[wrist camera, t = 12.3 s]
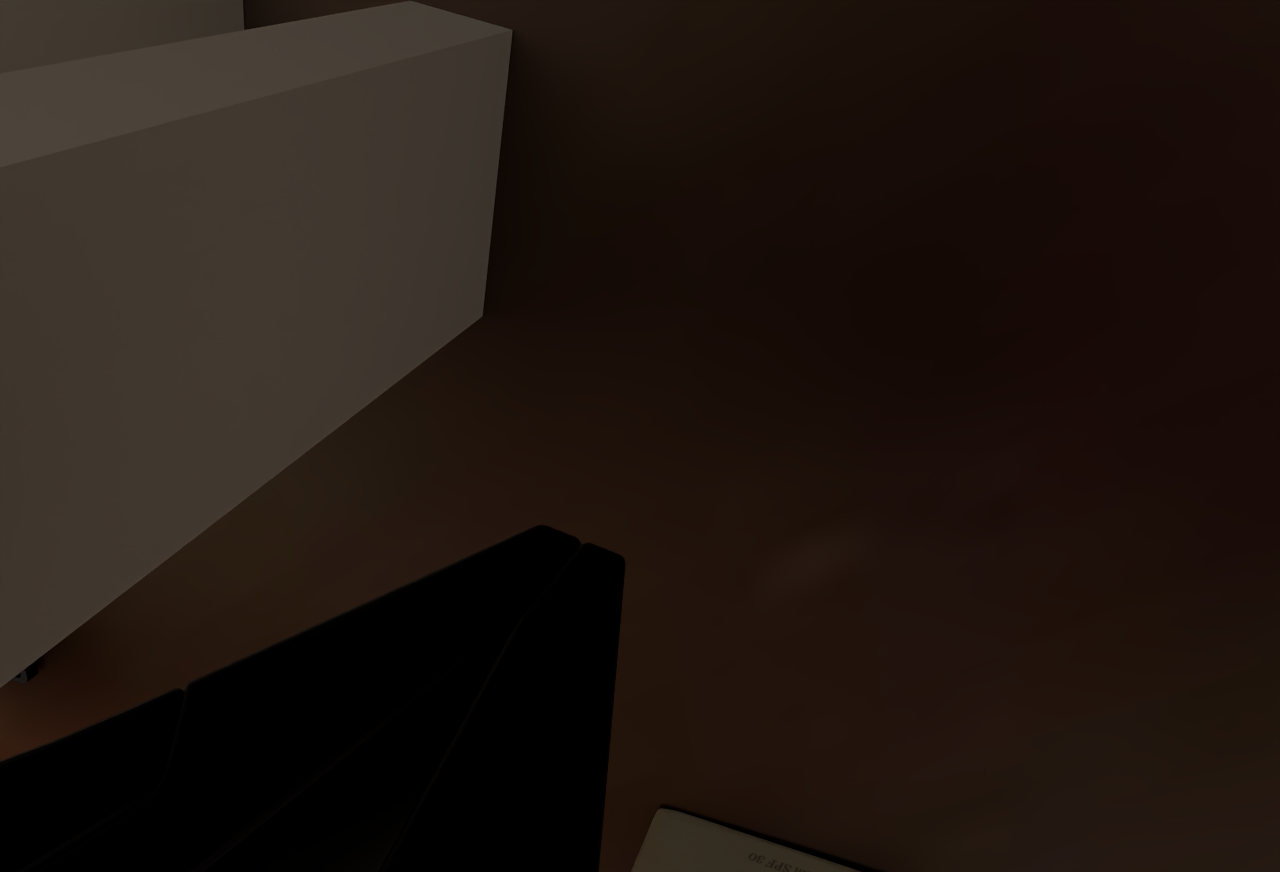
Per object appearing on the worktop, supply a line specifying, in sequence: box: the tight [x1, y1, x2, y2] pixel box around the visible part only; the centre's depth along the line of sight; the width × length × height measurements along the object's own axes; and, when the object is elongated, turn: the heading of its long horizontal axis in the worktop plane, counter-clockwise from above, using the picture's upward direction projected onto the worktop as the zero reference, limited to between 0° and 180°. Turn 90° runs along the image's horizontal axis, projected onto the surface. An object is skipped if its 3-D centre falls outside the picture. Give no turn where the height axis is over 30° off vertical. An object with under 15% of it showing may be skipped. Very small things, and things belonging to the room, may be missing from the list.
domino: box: [0, 1, 513, 688], centre depth 12 cm, size 2×5×10 cm, turn 168°
